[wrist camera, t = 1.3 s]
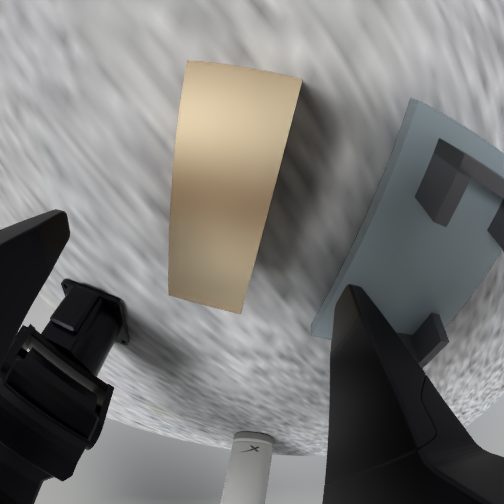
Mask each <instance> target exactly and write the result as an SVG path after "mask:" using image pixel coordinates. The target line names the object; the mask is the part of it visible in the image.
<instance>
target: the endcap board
mask: <svg viewBox="0 0 504 504" xmlns="http://www.w3.org/2000/svg"><path fill="white" fill-rule="evenodd" d="M502 250H503V251H504V154H503V153H502V152H501V151H500V150H498V149H497V148H495V147H494V146H493V145H491V144H490V143H489V142H487V141H486V140H484V139H483V138H481V137H480V136H478V135H477V134H475V133H474V132H472V131H471V130H469V129H468V128H466V127H465V126H463V125H461V124H460V123H458V122H457V121H455V120H453V119H452V118H450V117H448V116H446V115H445V114H443V113H441V112H439V111H437V110H436V109H434V108H432V107H430V106H428V105H426V104H424V103H422V102H420V101H418V100H415V99H412V98H411V99H410V102H409V105H408V108H407V111H406V114H405V117H404V120H403V123H402V126H401V129H400V132H399V135H398V137H397V140H396V143H395V146H394V148H393V151H392V154H391V156H390V159H389V162H388V164H387V167H386V169H385V172H384V174H383V177H382V179H381V182H380V184H379V187H378V189H377V191H376V194H375V196H374V199H373V201H372V203H371V206H370V208H369V210H368V212H367V215H366V217H365V219H364V221H363V224H362V226H361V228H360V230H359V232H358V235H357V237H356V239H355V241H354V243H353V245H352V247H351V249H350V251H349V253H348V256H347V258H346V260H345V262H344V264H343V266H342V268H341V270H340V272H339V274H338V276H337V278H336V280H335V281H334V283H333V285H332V287H331V289H330V291H329V293H328V295H327V297H326V299H325V300H324V302H323V304H322V306H321V308H320V310H319V312H318V313H317V315H316V317H315V319H314V321H313V322H312V324H311V336H315V337H320V338H325V339H331V340H332V331H333V320H334V309H335V305H336V303H337V301H338V299H339V297H340V296H341V294H342V292H343V290H344V288H345V287H346V286H347V285H348V284H353V285H357V286H360V287H362V288H363V290H364V291H365V292H366V293H367V295H368V296H369V297H370V298H371V300H372V301H373V302H374V304H375V305H376V306H377V307H378V309H379V310H380V311H381V313H382V314H383V315H384V317H385V318H386V319H387V321H388V322H389V323H390V325H391V326H392V327H393V329H394V330H395V331H396V333H397V334H398V335H399V337H400V338H401V340H402V341H403V342H404V344H405V345H406V346H407V348H408V349H409V351H410V352H411V353H412V355H413V356H414V358H415V359H416V361H417V362H418V363H419V365H420V366H421V368H423V367H424V366H425V365H426V364H427V363H428V362H429V361H431V360H432V359H433V358H434V357H435V356H436V355H437V354H438V353H439V352H440V351H441V350H442V349H443V348H444V347H445V346H446V345H447V343H448V342H449V341H448V338H447V335H446V332H445V329H444V328H445V327H446V326H447V325H448V324H449V322H450V321H451V320H452V319H453V318H454V317H455V315H456V314H457V313H458V312H459V310H460V309H461V308H462V307H463V306H464V304H465V303H466V302H467V300H468V299H469V298H470V297H471V295H472V294H473V293H474V291H475V290H476V288H477V287H478V286H479V284H480V283H481V282H482V280H483V279H484V277H485V276H486V274H487V273H488V271H489V270H490V269H491V267H492V266H493V264H494V262H495V261H496V259H497V258H498V256H499V255H500V253H501V251H502Z"/></svg>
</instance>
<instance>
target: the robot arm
mask: <svg viewBox="0 0 504 504" xmlns="http://www.w3.org/2000/svg"><path fill="white" fill-rule="evenodd" d="M69 237H70V229H69V223H68V217H67V214H66V212H64V211H61V210H57V209H55V210H52V211H49V212H46V213H43V214H41V215H38V216H35V217H32V218H30V219H27V220H24V221H22V222H19V223H16V224H14V225H11V226H9V227H6V228H4V229H1V230H0V504H34V502H35V500H36V497H37V495H38V492H39V490H40V487H41V485H42V483H43V481H45V480H48V479H50V478H53V477H55V478H57V479H59V480H61V481H64V480H66V479H67V478H69V477H71V476H72V475H73V472H74V470H75V467H76V465H77V462H78V461H79V459H80V457H81V455H82V453H83V452H84V450H85V449H87V450H89V449H91V448H92V447H93V446H94V444H95V443H96V441H97V440H98V438H99V436H100V433H101V431H102V428H103V424H104V421H105V418H106V414H107V410H108V407H109V404H110V400H111V397H112V393H113V390H114V387H113V386H111V385H110V384H106V383H105V382H103V381H102V380H100V379H99V378H97V375H98V373H99V371H100V369H101V367H102V365H103V363H104V361H105V359H106V357H107V355H108V353H109V351H110V350H111V348H112V346H113V344H114V342H115V341H116V342H119V343H121V344H124V345H128V344H129V342H130V340H129V336H128V331H127V327H126V322H125V317H124V313H123V308H122V303H121V302H120V300H118V299H117V298H114V297H111V296H108V295H106V294H103V293H100V292H97V291H95V290H92V289H89V288H87V287H84V286H82V285H79V284H77V283H74V282H71V281H69V280H67V279H64V280H63V281H62V283H61V285H62V288H63V291H64V294H65V298H64V299H63V300H62V302H61V303H60V304H59V306H58V307H57V309H56V310H55V311H54V313H53V314H52V316H51V317H50V321H49V323H48V324H47V326H46V327H45V329H44V330H43V332H42V333H41V334H40V333H39V332H38V331H36V330H35V327H33V326H32V325H31V324H30V325H29V327H26V326H24V325H23V326H22V327H21V329H20V330H19V328H20V326H21V324H22V322H23V320H24V318H25V316H26V314H27V313H28V311H29V309H30V307H31V305H32V304H33V302H34V300H35V298H36V297H37V295H38V293H39V291H40V290H41V288H42V286H43V285H44V283H45V281H46V280H47V278H48V276H49V275H50V273H51V271H52V269H53V267H54V265H55V263H56V262H57V260H58V258H59V256H60V254H61V252H62V250H63V249H64V247H65V245H66V243H67V242H68V240H69ZM18 330H19V332H18ZM17 332H18V333H17ZM16 334H17V335H16ZM28 348H29V349H30V351H29V352H27V351H26V350H27V349H28ZM322 504H504V457H501V456H498V455H495V454H492V453H489V452H487V451H485V450H483V449H482V448H481V447H479V446H478V445H477V444H476V443H475V442H474V440H473V439H472V437H471V436H470V435H469V433H468V432H467V431H466V429H465V428H464V427H463V425H462V424H461V423H460V421H459V420H458V419H457V417H456V416H455V415H454V413H453V412H452V411H451V409H450V408H449V406H448V405H447V404H446V402H445V401H444V400H443V398H442V397H441V395H440V394H439V393H438V391H437V390H436V388H435V387H434V385H433V384H432V382H431V381H430V379H429V378H428V376H425V372H424V371H423V369H422V368H421V366H420V365H419V363H418V362H417V361H416V359H415V358H414V356H413V355H412V353H411V352H410V351H409V349H408V348H407V346H406V345H405V344H404V342H403V341H402V340H401V338H400V337H399V335H398V334H397V333H396V331H395V330H394V329H393V327H392V326H391V325H390V323H389V322H388V321H387V319H386V318H385V317H384V315H383V314H382V313H381V311H380V310H379V309H378V307H377V306H376V305H375V304H374V302H373V301H372V300H371V298H370V297H369V296H368V295H367V293H366V292H365V291H364V290H363V288H362V287H360V286H357V285H353V284H348V285H347V286H346V287H345V288H344V290H343V292H342V294H341V296H340V297H339V299H338V301H337V303H336V305H335V309H334V320H333V331H332V341H331V352H330V408H329V433H328V450H327V465H326V476H325V485H324V495H323V503H322Z"/></svg>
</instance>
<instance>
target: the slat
mask: <svg viewBox="0 0 504 504" xmlns="http://www.w3.org/2000/svg"><path fill="white" fill-rule="evenodd" d="M301 84H302V80H301V79H299V78H295V77H291V76H287V75H282V74H278V73H273V72H268V71H264V70H258V69H253V68H247V67H241V66H235V65H228V64H220V63H211V62H200V61H187V64H186V69H185V75H184V82H183V88H182V95H181V102H180V109H179V117H178V125H177V133H176V143H175V153H174V163H173V175H172V189H171V205H170V226H169V269H168V289H169V295H170V296H174V297H177V298H181V299H184V300H188V301H191V302H195V303H199V304H202V305H206V306H210V307H214V308H217V309H221V310H225V311H229V312H233V313H237V314H241V312H242V308H243V304H244V300H245V297H246V293H247V289H248V286H249V282H250V278H251V274H252V271H253V267H254V263H255V259H256V256H257V252H258V248H259V244H260V241H261V237H262V233H263V229H264V226H265V222H266V218H267V214H268V210H269V207H270V203H271V199H272V195H273V191H274V188H275V184H276V180H277V176H278V172H279V169H280V165H281V161H282V157H283V153H284V149H285V146H286V142H287V138H288V134H289V130H290V126H291V122H292V119H293V115H294V111H295V107H296V103H297V99H298V95H299V91H300V88H301Z"/></svg>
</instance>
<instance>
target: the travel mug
mask: <svg viewBox="0 0 504 504" xmlns="http://www.w3.org/2000/svg"><path fill="white" fill-rule="evenodd" d="M273 443H274V439H273V438H272V437H271V436H269V435H266V434H262V433H257V432H239V433H236V434H235V435H234V440H233V445H232V450H231V455H230V460H229V465H228V470H227V475H226V479H225V484H224V489H223V494H222V499H221V503H220V504H265V498H266V492H267V486H268V479H269V472H270V465H271V458H272V451H273V449H272V448H273Z"/></svg>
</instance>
